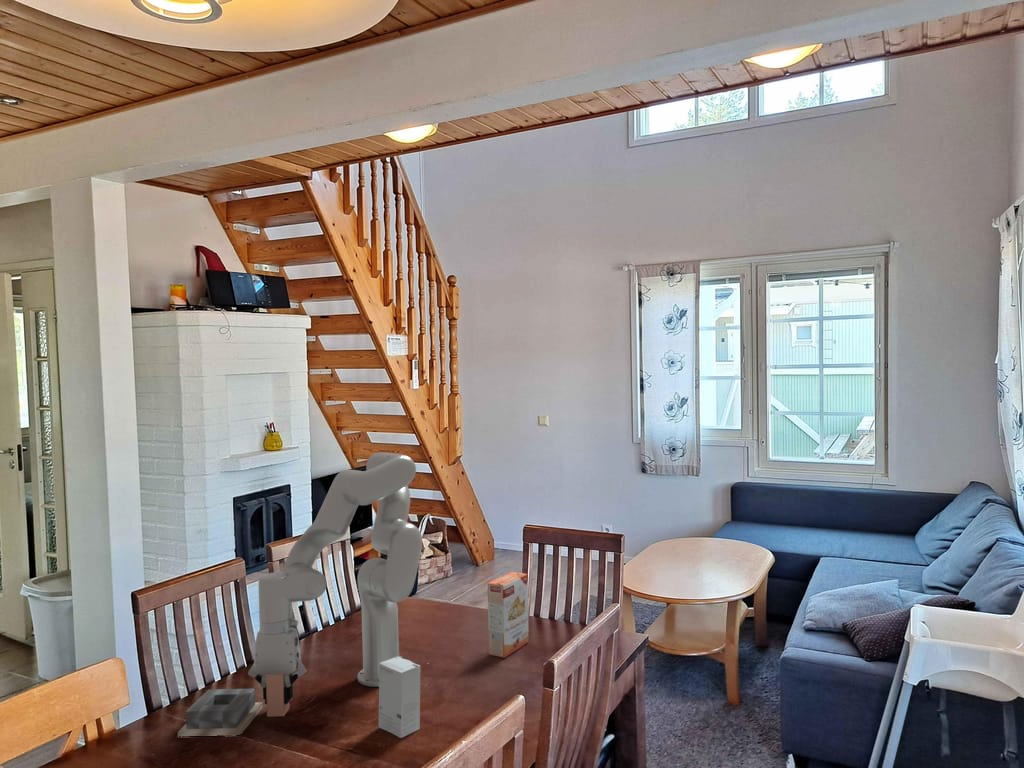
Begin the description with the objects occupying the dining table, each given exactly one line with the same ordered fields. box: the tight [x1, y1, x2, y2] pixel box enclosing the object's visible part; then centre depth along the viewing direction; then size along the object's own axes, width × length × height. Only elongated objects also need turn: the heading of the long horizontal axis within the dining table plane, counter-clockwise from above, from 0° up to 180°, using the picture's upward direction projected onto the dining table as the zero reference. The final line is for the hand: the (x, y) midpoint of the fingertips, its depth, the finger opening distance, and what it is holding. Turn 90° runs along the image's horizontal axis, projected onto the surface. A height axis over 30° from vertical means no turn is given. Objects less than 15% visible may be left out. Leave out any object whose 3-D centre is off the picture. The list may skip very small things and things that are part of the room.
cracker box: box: [487, 571, 530, 659], centre depth 203 cm, size 14×6×21 cm, turn 148°
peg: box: [266, 674, 290, 718], centre depth 167 cm, size 4×4×10 cm
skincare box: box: [378, 657, 421, 739], centre depth 157 cm, size 8×6×15 cm
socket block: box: [177, 688, 264, 738], centre depth 163 cm, size 14×14×5 cm
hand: (278, 700), depth 167 cm, fingers closed on peg, 3 cm apart
